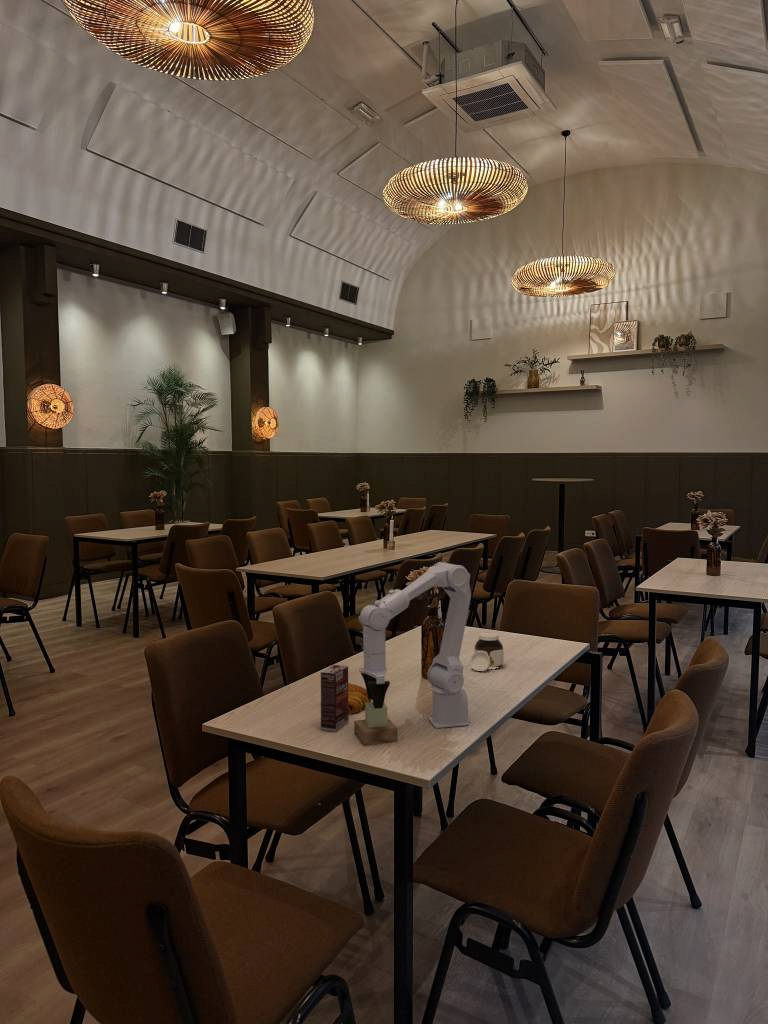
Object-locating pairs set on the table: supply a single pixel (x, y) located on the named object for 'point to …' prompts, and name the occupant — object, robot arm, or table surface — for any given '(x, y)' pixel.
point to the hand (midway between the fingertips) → (375, 703)
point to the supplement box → (334, 698)
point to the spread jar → (487, 652)
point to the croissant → (357, 698)
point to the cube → (375, 715)
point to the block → (375, 733)
